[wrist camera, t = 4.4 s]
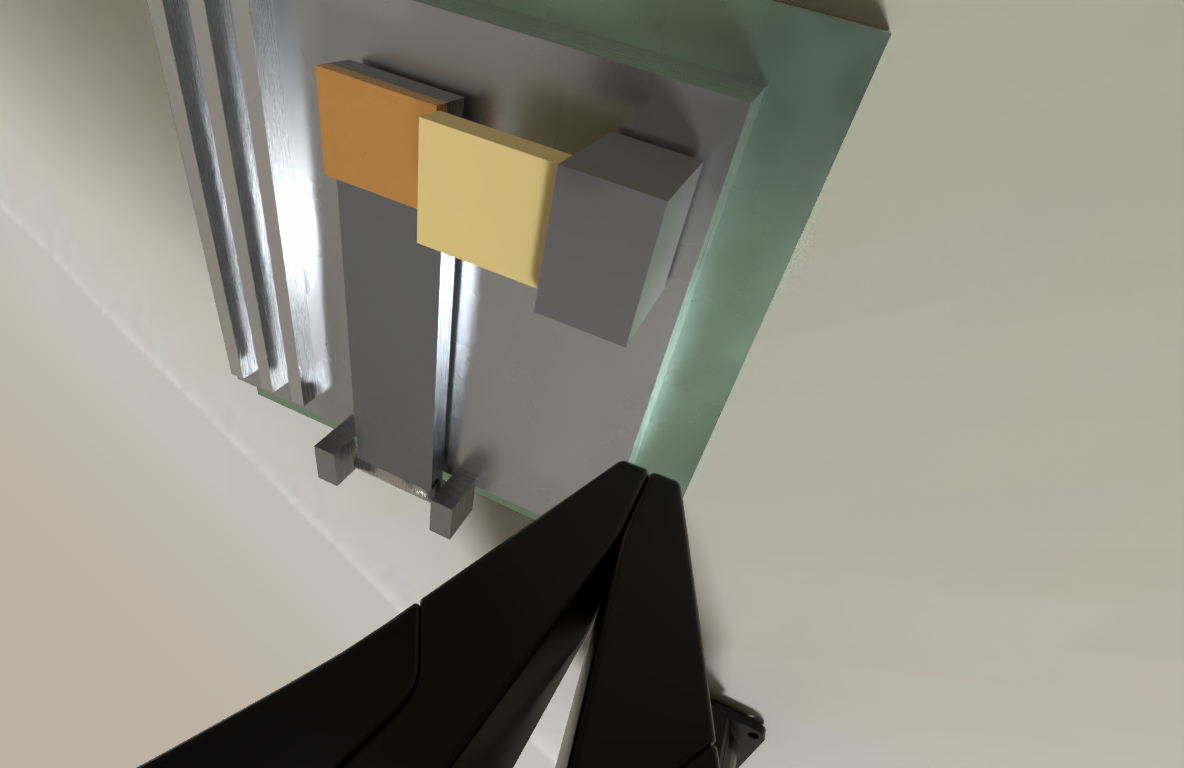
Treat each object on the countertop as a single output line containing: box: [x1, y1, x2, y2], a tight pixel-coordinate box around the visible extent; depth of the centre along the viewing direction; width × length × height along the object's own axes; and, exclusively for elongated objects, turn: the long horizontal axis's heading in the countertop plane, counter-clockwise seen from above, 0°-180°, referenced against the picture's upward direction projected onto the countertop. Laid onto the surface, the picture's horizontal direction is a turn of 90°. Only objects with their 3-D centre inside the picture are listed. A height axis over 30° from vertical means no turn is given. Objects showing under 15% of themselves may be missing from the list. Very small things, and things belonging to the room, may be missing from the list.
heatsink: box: [147, 0, 891, 539], centre depth 18 cm, size 19×19×4 cm
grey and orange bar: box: [315, 60, 464, 503], centre depth 17 cm, size 13×3×1 cm, turn 168°
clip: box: [417, 111, 704, 348], centre depth 12 cm, size 3×5×3 cm, turn 78°
